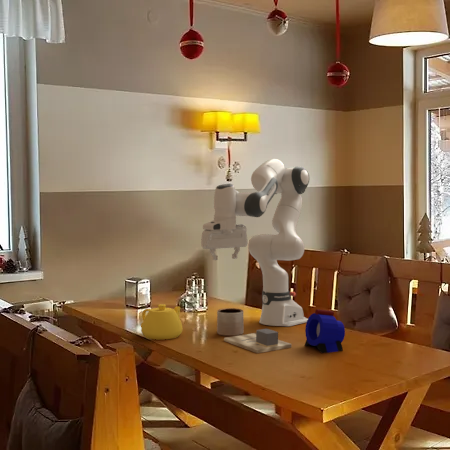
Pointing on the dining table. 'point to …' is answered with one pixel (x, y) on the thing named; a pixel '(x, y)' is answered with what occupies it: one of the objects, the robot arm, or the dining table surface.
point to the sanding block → (267, 337)
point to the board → (254, 343)
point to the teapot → (161, 323)
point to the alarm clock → (324, 331)
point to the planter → (230, 322)
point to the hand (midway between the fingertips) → (224, 259)
